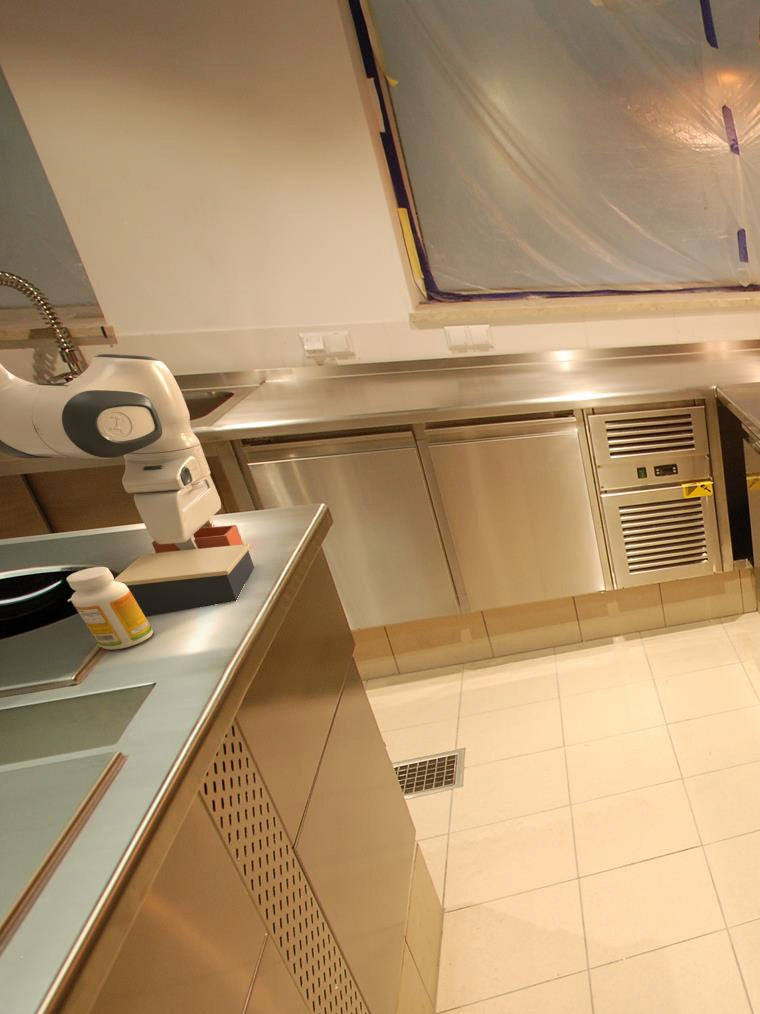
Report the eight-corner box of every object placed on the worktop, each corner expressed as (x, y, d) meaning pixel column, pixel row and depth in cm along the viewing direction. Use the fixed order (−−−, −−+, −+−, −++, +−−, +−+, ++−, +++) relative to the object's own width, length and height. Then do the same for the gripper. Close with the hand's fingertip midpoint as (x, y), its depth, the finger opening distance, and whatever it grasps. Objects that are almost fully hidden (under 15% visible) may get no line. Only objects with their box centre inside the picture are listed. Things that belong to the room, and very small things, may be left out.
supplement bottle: (152, 624, 113) (113, 560, 108) (156, 639, 109) (117, 573, 104) (99, 639, 110) (57, 573, 104) (102, 655, 106) (59, 587, 101)
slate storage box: (127, 624, 114) (109, 583, 112) (157, 592, 124) (142, 554, 122) (241, 610, 119) (227, 570, 117) (262, 580, 130) (249, 543, 127)
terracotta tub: (164, 573, 128) (151, 542, 126) (176, 561, 133) (164, 531, 130) (237, 566, 131) (226, 535, 129) (247, 554, 136) (236, 524, 134)
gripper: (165, 453, 132) (197, 537, 138) (116, 484, 116) (155, 577, 122) (215, 450, 135) (244, 532, 141) (174, 480, 118) (209, 572, 124)
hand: (202, 554), depth 131 cm, fingers closed on terracotta tub, 6 cm apart
